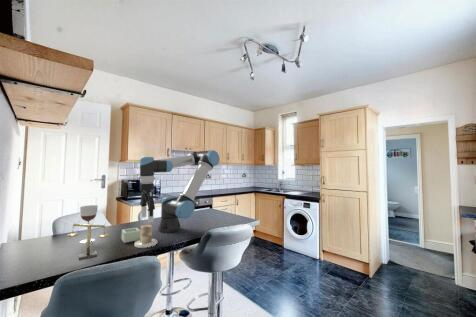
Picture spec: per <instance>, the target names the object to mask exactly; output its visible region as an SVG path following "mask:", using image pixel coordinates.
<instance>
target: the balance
mask: <svg viewBox="0 0 476 317" xmlns="http://www.w3.org/2000/svg"><path fill="white" fill-rule="evenodd" d="M74 227H86V228H87V227H88V231H87V230H86V231H87V232H86V239H87V243H86V252H83V253H79V254H78V260H84V259H90V258H94V257H97V256H98V253H97V250H93V251H91V242H90V241H91V239H92V238H91V237H92V234H91V233H92V228H103V234H100V235H98V238H100V239H104V238H108V237H110V234H109V233H105V232H106V225H103V224H101V225H100V224H89V225H88V223H87V224H86V223H85V224H84V223H73V224H72V231H74ZM77 236H79V233H78V232H72V233H68V234H66V237H67V238H72V237H77Z"/></svg>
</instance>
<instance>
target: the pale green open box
mask: <svg viewBox="0 0 476 317" xmlns="http://www.w3.org/2000/svg"><path fill="white" fill-rule="evenodd" d="M139 240H140V229H139V227H130V228H125V229H124V228H123V229H121V241H122V242H123V243H124V244H126V243H130V242H136V241H139Z"/></svg>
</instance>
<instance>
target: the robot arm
mask: <svg viewBox="0 0 476 317" xmlns="http://www.w3.org/2000/svg"><path fill="white" fill-rule="evenodd" d="M219 163H220V155H219V153H218V151H216V150H214V149H213V150H212V149H210V150H201V151H197V152H193V153H192V152H191V153H188V154H187V155H181V156H176V157H175V156H173V157H169V158H161V159H155V158H154V156H141V157H140V159H139V178H138V179H139V183H140V184H139V190H140V191H141V196H140V201H139V202H140V203H139V205H140V207H141V208H140V210H141V211H140V213H141V214H140V215H141V216H140V217H141V219H143V218H147V223H153V222H154V211H155V210H156V208H155V207H156V206H155V200H154V192H153V190H155V184H154V182H155V174H157V173H170V172H172V170H173V169H176V168H181V167H186V166H189V167H193V166H197V168H196V169H195V172H194V173H193V175H192V176H191V178H190V181H189V182H188V184H187V185H186V187H185V189H184V191H183V192H182V193H180V194H179V195H177V196H176V195H175V196H166V197H162V199H161V212H160V214H161V215H160V221H159V224H158V227H157V231H158V232H159V233H164V234H165V233H166V234H167V233H174V232H175V233H177V232H178V231H181V226H182V224H181V223H180V220H179V219H188V218H190V217H192V215H193V214H194V212H195V209H196V208H195V202H196V201H195V198H196V196H197V194H198V192H199V190H200V188H201V187H202V186H203V185H202V184H203V183H204V181H205V179H206V177H207V176H208V173H209V172H210V171H212V170H213V168H214V167H216V166H218V165H219ZM147 208H148V209H147Z"/></svg>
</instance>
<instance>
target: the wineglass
mask: <svg viewBox="0 0 476 317" xmlns="http://www.w3.org/2000/svg"><path fill="white" fill-rule="evenodd" d="M98 207H99V206H98V205H97V204H96V205H95V204H91V205H82V206H80V208H79V211H80V217H81V219H82V220H83V221H85V222H87V225H90V222H91V221H92V220H94V219H95V218H96V216H97V214H98V209H99V208H98ZM86 231H88V227H86ZM91 241H92V242H95V241H96V239H95V238H91ZM91 241H90V243H92V242H91ZM86 242H87V238H86V239H82V240H80V241H79V243H80V244H87V243H86Z"/></svg>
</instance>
